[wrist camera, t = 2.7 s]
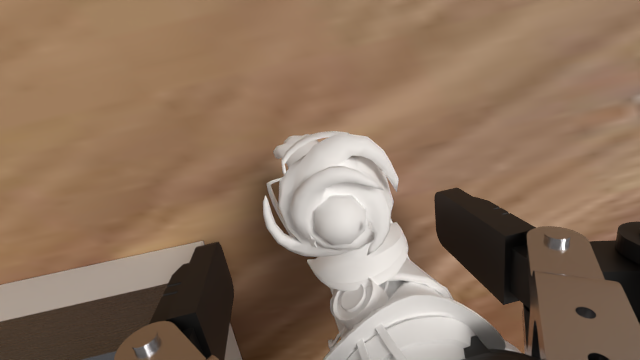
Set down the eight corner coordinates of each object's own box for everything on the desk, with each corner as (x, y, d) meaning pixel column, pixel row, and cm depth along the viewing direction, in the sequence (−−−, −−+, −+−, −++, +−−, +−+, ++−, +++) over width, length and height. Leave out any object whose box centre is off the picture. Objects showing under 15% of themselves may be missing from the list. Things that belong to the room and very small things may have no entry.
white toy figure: (387, 252, 17) (625, 610, 6) (319, 282, 17) (422, 703, 6) (327, 89, 14) (588, 150, 3) (243, 124, 14) (126, 351, 2)
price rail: (187, 278, 12) (163, 339, 9) (197, 303, 13) (176, 368, 10) (-127, 350, 11) (-258, 442, 8) (-106, 374, 12) (-226, 470, 9)
